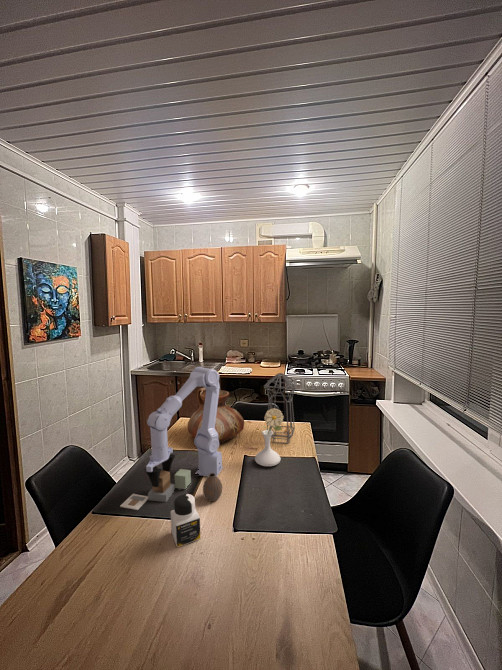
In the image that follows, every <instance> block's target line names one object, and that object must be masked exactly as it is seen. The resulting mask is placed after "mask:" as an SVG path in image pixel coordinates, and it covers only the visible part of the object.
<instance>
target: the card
mask: <svg viewBox="0 0 502 670" xmlns="http://www.w3.org/2000/svg"><path fill="white" fill-rule="evenodd" d="M147 501H149V500H148V495H141V494H136V493H132V494H131V495H130V496H128V498H127V499H126V500H124V502H123V503H121V504H120V506H119V507H120V508H124V509H129V510H130V509H131V510H135V511H138V510H140V508H141V507H142V506H143V505H145V503H146V502H147Z"/></svg>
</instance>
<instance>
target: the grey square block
mask: <svg viewBox="0 0 502 670" xmlns="http://www.w3.org/2000/svg"><path fill="white" fill-rule="evenodd" d="M174 490H175V483H171V482H170V487H169V488H168V489H167V490H166V491H165V492H164V493H161V492H157V491H153V487H152V488H151V489H149V491H148V492H147V496H148V500H147V501H154V502H160V503H161V502H162V503H167V502H168V500H169V499H170V498H171V496H172V495H173V494H172V493H174V492H175V491H174ZM169 497H170V498H169Z"/></svg>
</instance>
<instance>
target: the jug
mask: <svg viewBox="0 0 502 670" xmlns="http://www.w3.org/2000/svg"><path fill="white" fill-rule="evenodd" d="M229 395H230V392H229V391H227V390H222V389H219V397H218V405H217V413H216V421H215V430H216V431H217V433H218V435H219V436H218V440H219V444H221V443H223V442H226V441H228V440H230V439H232V438H234V437H236V436H238V435H239V434H240V433H242V431H244V428H245V419H244V418H243V416H242V415H241V414H240V412H239V411H237V409H235V408H233V407H230V406H229V405H226V401H227V400H228V397H229ZM205 396H206V389H205V388H204V387H200V388H198V389H197V392H196V398H197V403H198V404H199V407H198V409H197V410H196V411H194V412H193V414H192V415H191V416H190V418H189V419H188V423H187V431H188V433H189V434H190V436H191V437H192V438H193V439H195V437H196V435H197V430H198V429H200V428H201V427H202V419H203V411H204V404H205Z"/></svg>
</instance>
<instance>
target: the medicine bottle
mask: <svg viewBox="0 0 502 670" xmlns="http://www.w3.org/2000/svg"><path fill="white" fill-rule="evenodd" d="M195 501H196V498H195V497H194V496H193V495H192V494H189V493H182V494H180V495H179V496H177V497H176V498H175V499H174V502H173V505H174V506H173V509H172V510H170V528H171V529H170V531H171V535H172V538H173V540H174V543H175V546H176V548H181V547H184V546H186V545H189V544H190V543H193V542H196V541H200V540H201V516H200V515H199V513H198V510H197V508H196V502H195Z"/></svg>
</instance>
